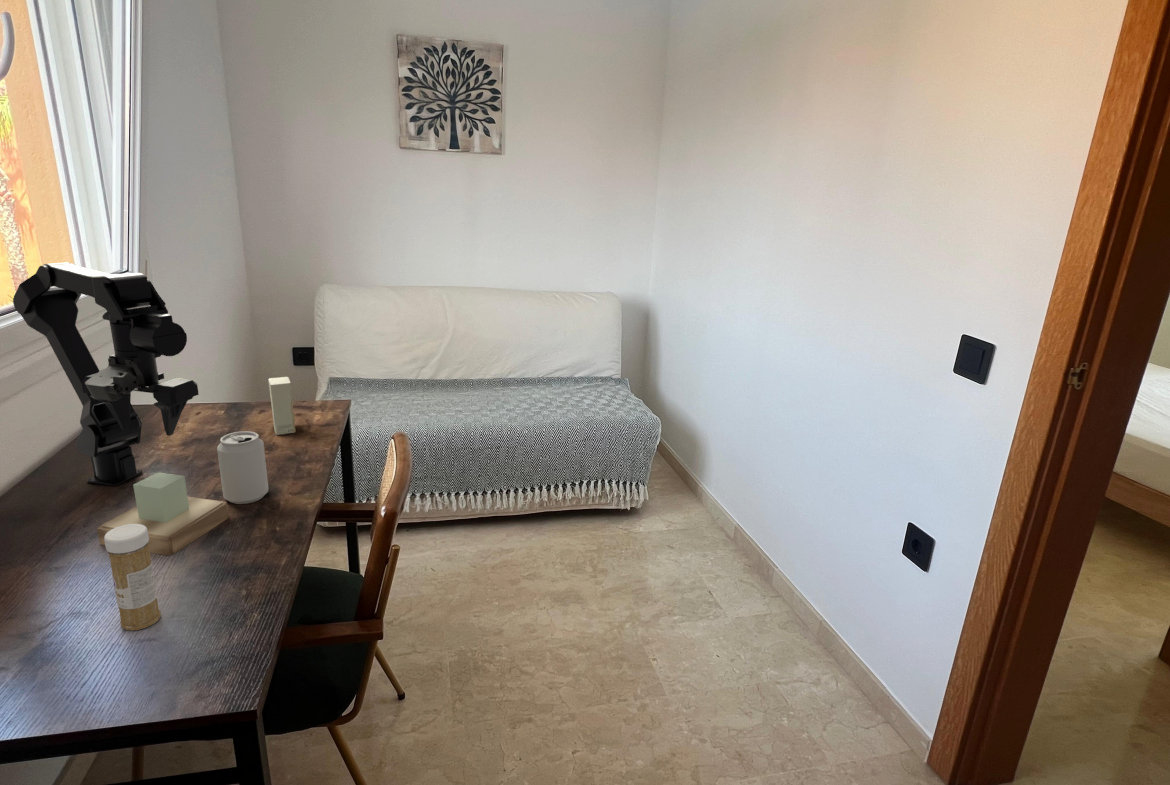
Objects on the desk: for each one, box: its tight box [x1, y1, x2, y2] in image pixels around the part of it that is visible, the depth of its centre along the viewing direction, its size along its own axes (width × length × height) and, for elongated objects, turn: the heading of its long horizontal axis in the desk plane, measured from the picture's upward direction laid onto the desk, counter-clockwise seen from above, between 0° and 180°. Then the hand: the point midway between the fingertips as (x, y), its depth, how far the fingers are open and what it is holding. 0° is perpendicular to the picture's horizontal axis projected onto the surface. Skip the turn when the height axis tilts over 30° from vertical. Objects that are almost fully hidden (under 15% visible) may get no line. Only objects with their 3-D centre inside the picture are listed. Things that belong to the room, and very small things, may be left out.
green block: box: [132, 471, 189, 523], centre depth 108 cm, size 5×5×6 cm
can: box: [216, 430, 269, 505], centre depth 120 cm, size 8×8×12 cm
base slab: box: [96, 495, 230, 557], centre depth 109 cm, size 13×13×3 cm
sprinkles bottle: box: [104, 524, 162, 631], centre depth 85 cm, size 5×5×13 cm
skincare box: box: [268, 376, 296, 436], centre depth 153 cm, size 6×4×12 cm
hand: (147, 432), depth 118 cm, fingers open, 9 cm apart
